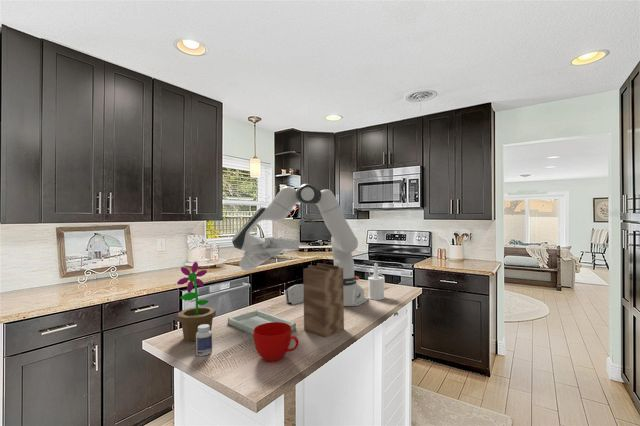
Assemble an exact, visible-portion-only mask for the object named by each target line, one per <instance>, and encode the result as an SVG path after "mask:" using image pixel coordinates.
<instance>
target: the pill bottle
mask: <svg viewBox="0 0 640 426" xmlns="http://www.w3.org/2000/svg"><path fill="white" fill-rule="evenodd" d="M212 332H213V331H212V330H211V331H210V326H209V325H208V324H203V325H200V326H198V332H197V333H196V342H195V353H196V355H197V356H198V355H199V356H198V357H204V356H205V355H206V356H209V355H210V354H212V352H213V333H212ZM208 354H209V355H208ZM206 356H205V357H206Z"/></svg>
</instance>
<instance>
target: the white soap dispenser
mask: <svg viewBox="0 0 640 426" xmlns="http://www.w3.org/2000/svg"><path fill="white" fill-rule="evenodd" d="M373 266H374V268H373V267H372V268H370V269H369V271H368V275H370V276H368V277H367V281H368V296H367V297H368V298H369V299H370V300H372V299H373V300H374V301H380V300H381V299H382V300H384V299H385V289H386V285H385V281H386V280H385V278H386V277H385V275H383V274H382V273H379V264H378V263H377V262H375V263H374V265H373ZM371 270H374V271H373V274H370V272H371ZM382 300H381V301H382Z"/></svg>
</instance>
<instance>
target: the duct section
mask: <svg viewBox="0 0 640 426" xmlns="http://www.w3.org/2000/svg"><path fill="white" fill-rule="evenodd" d="M269 240H271V242H272V244H271V245H268V247H276V248H284V250H285V249H286V250H299V249H300V240H299V239H293V238H285V237H284V238H282V237H273V236H271V237H264V241H265V242H267V241H269Z"/></svg>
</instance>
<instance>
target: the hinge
mask: <svg viewBox="0 0 640 426" xmlns="http://www.w3.org/2000/svg"><path fill="white" fill-rule="evenodd" d="M284 294H285V295H284V296H285V301H286V302H285V303H286V304H289V303H291V305H292V306H294V305H297V304H300V303H304V285H303V283H300V284H294V285H292V286H289V287H288V288H287V289H285V293H284Z"/></svg>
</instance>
